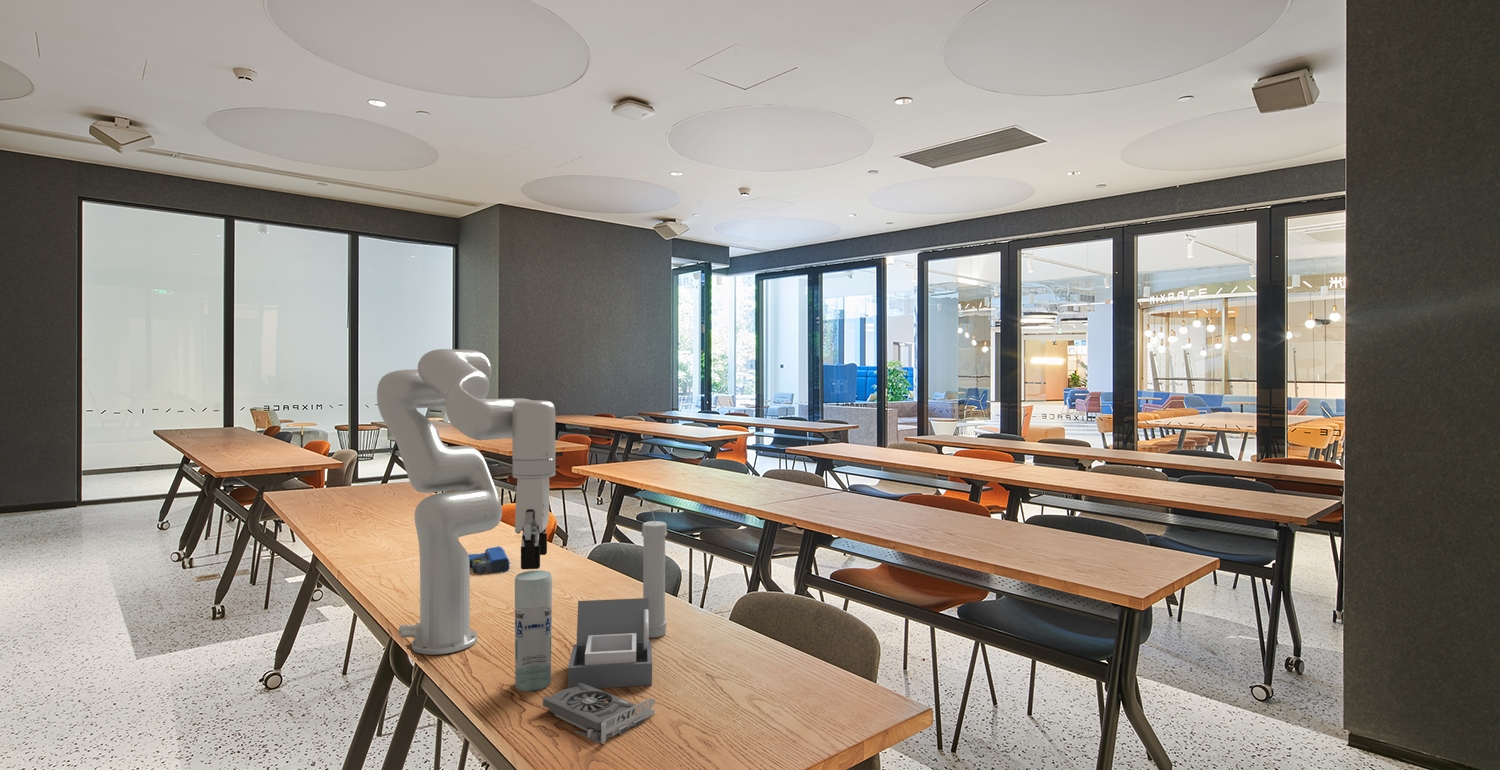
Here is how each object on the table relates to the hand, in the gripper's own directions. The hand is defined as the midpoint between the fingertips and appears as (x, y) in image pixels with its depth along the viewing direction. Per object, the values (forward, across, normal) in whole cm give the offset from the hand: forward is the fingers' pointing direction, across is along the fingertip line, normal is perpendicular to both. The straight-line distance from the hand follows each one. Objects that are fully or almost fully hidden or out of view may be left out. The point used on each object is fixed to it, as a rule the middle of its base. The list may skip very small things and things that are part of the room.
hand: (534, 561), depth 129 cm
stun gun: (+22, -81, -26) cm, 88 cm away
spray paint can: (+23, 0, 0) cm, 23 cm away
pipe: (+23, -22, +22) cm, 38 cm away
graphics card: (+23, +13, +12) cm, 30 cm away
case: (+23, -4, +14) cm, 27 cm away
